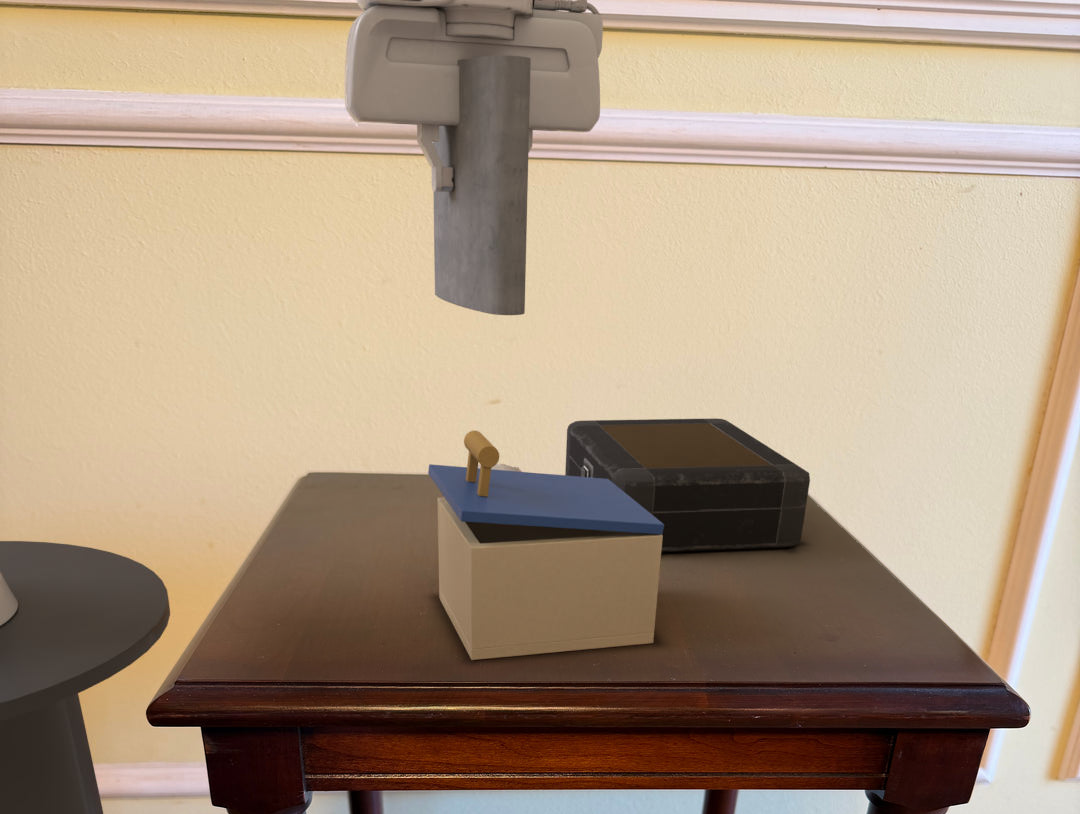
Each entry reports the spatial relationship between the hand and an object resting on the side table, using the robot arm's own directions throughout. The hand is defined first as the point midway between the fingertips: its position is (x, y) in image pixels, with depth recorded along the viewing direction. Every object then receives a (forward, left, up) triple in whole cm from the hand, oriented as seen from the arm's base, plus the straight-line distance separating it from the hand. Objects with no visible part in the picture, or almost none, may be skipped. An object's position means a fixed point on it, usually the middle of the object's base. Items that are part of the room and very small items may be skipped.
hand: (474, 192), depth 84 cm
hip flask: (0, 0, -9) cm, 9 cm away
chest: (+2, -17, -31) cm, 35 cm away
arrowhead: (+9, +24, -31) cm, 40 cm away
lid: (+1, -17, -21) cm, 27 cm away
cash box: (+24, +8, -31) cm, 40 cm away
